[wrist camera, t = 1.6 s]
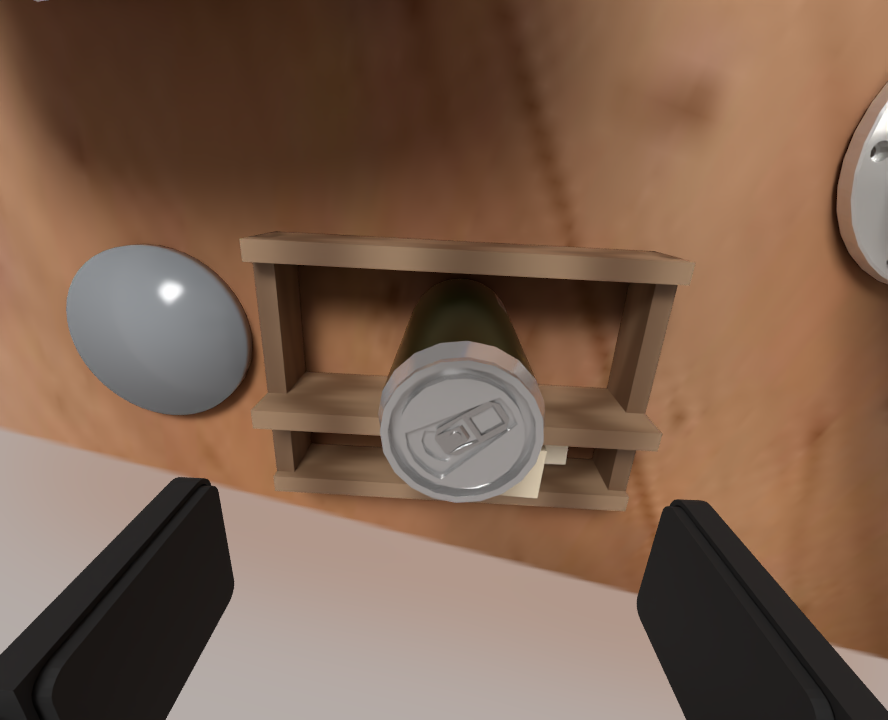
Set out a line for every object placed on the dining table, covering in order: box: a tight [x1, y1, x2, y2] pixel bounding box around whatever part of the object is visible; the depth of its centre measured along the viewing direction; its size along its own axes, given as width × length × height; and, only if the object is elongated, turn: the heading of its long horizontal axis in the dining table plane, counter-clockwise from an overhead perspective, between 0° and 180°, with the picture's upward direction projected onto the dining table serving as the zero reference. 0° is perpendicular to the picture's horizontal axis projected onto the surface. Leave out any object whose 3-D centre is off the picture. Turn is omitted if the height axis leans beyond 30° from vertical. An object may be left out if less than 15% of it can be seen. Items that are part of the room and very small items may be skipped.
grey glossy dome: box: [66, 244, 252, 415], centre depth 24 cm, size 10×10×1 cm
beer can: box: [378, 278, 545, 503], centre depth 18 cm, size 5×5×12 cm
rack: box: [239, 232, 695, 511], centre depth 22 cm, size 20×14×5 cm
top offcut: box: [500, 445, 547, 498], centre depth 23 cm, size 6×3×2 cm, turn 85°
